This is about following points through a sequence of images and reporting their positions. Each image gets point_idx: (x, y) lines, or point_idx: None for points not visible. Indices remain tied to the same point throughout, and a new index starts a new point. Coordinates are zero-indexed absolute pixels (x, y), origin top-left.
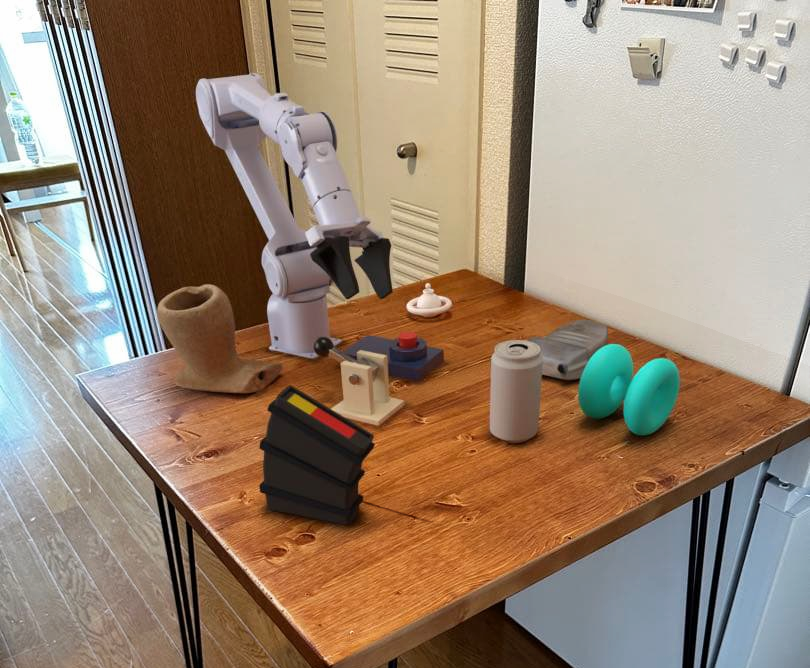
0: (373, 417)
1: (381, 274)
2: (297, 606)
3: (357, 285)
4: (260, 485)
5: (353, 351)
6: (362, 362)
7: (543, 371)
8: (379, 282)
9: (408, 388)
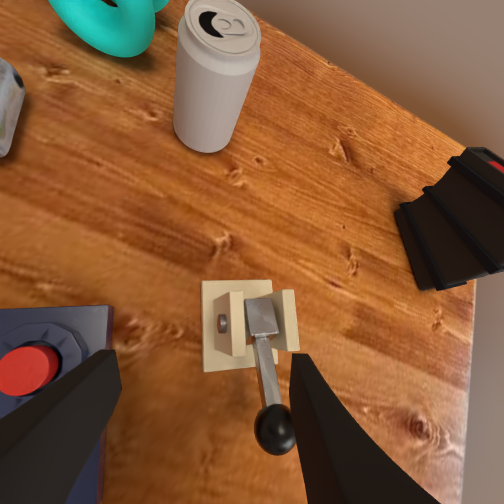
0: (267, 291)
1: (67, 422)
2: None
3: (300, 364)
4: (466, 282)
5: (74, 493)
6: (264, 324)
7: (16, 116)
8: (89, 416)
9: (139, 311)
